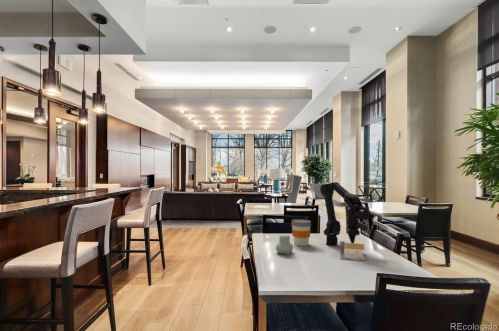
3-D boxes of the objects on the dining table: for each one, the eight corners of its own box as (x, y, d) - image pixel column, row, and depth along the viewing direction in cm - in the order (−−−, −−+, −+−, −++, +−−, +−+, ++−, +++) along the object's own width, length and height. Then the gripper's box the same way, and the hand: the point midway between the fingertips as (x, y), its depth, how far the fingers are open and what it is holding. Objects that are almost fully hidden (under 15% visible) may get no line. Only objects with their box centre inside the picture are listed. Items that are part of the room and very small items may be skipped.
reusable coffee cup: (313, 243, 186) (313, 220, 186) (306, 247, 175) (306, 223, 176) (296, 240, 193) (296, 218, 193) (288, 244, 182) (288, 221, 182)
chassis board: (340, 258, 152) (340, 253, 152) (339, 249, 171) (339, 244, 172) (364, 261, 149) (364, 255, 149) (361, 251, 168) (361, 246, 168)
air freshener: (289, 256, 156) (289, 238, 157) (275, 254, 159) (275, 236, 159) (293, 251, 167) (293, 234, 167) (279, 249, 170) (279, 233, 170)
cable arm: (339, 248, 161) (339, 242, 161) (339, 247, 163) (339, 241, 163) (364, 250, 157) (364, 244, 157) (363, 249, 160) (363, 242, 160)
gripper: (369, 220, 155) (369, 249, 154) (365, 215, 172) (365, 241, 172) (347, 219, 158) (347, 247, 157) (346, 214, 176) (346, 240, 175)
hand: (352, 244), depth 165 cm, fingers closed
